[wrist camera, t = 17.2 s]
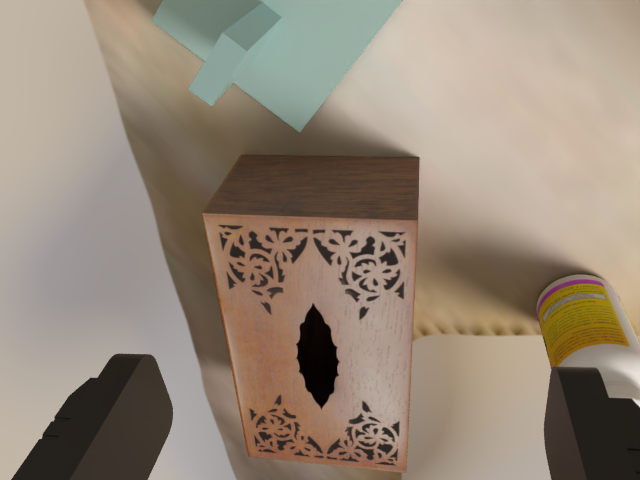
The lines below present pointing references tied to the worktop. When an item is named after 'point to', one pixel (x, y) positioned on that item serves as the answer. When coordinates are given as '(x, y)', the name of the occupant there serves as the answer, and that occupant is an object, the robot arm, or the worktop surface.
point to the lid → (274, 47)
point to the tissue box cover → (319, 303)
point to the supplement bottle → (591, 332)
